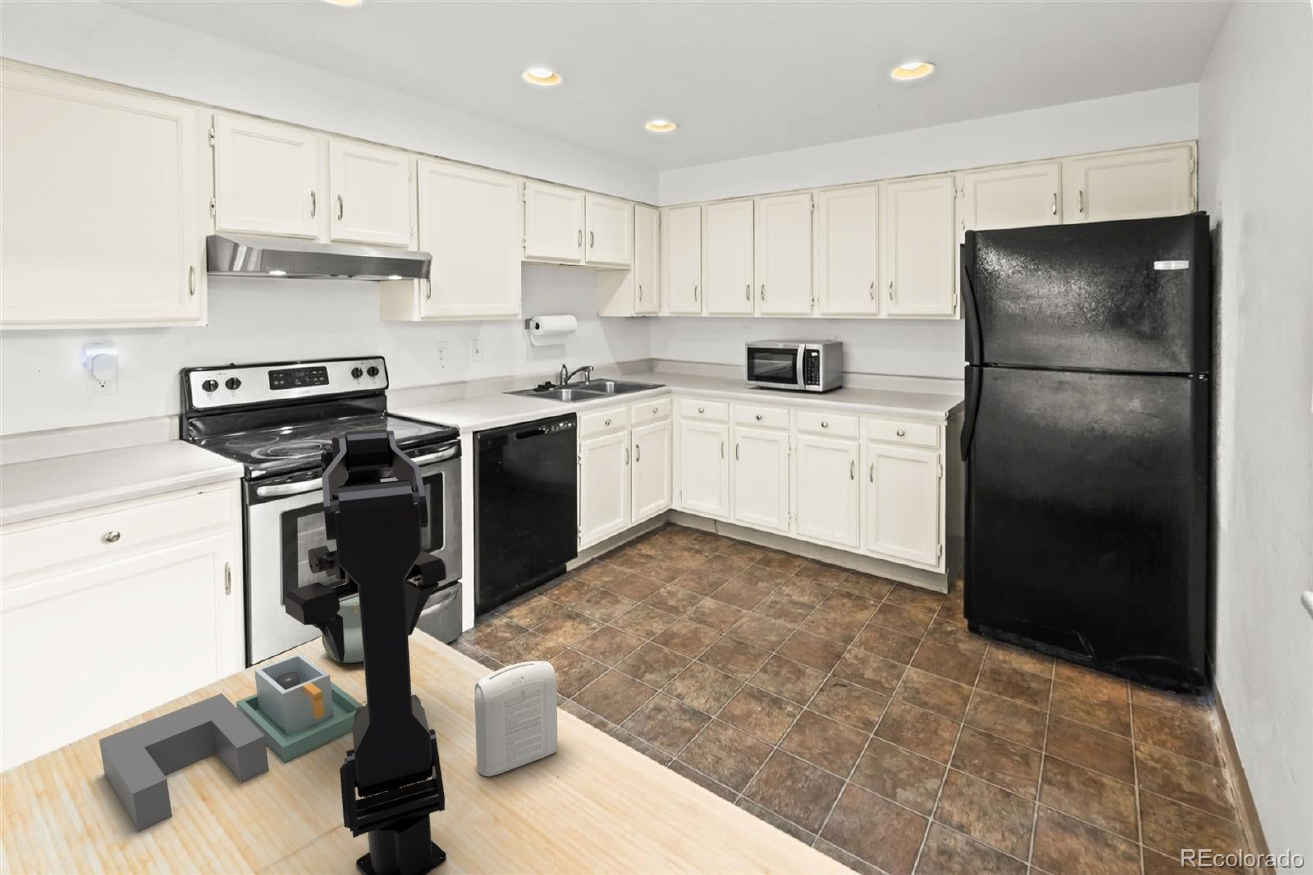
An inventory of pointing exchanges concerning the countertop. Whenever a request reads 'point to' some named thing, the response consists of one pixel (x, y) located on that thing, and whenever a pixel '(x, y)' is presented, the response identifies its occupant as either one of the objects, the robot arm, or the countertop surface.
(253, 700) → the tray
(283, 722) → the toner caddy
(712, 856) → the countertop surface
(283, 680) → the dark grey rounded piece
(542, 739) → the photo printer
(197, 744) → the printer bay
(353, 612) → the air freshener
